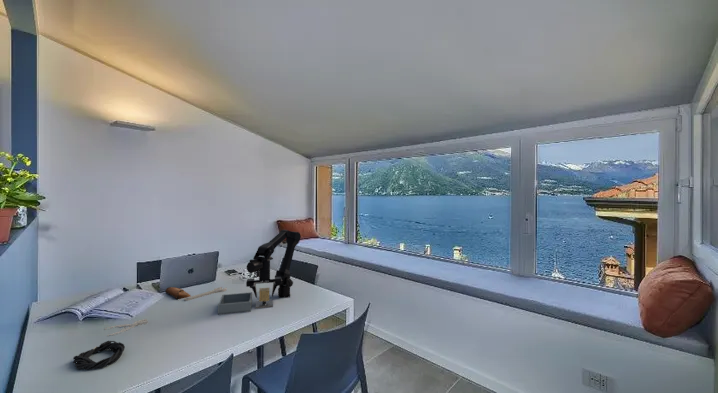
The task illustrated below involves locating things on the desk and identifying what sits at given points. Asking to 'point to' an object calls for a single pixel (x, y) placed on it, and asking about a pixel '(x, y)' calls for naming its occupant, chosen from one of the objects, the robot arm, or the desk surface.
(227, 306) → the bin
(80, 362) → the cable
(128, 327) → the forked twig
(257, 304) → the metal ball pedestal
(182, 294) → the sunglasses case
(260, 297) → the wooden block
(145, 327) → the desk surface
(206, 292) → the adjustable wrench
